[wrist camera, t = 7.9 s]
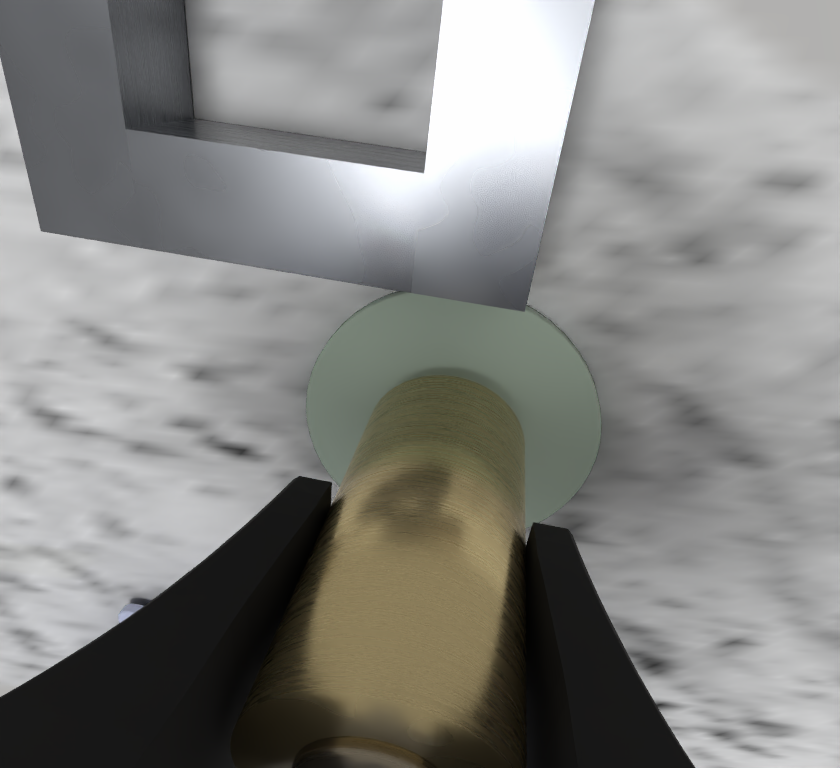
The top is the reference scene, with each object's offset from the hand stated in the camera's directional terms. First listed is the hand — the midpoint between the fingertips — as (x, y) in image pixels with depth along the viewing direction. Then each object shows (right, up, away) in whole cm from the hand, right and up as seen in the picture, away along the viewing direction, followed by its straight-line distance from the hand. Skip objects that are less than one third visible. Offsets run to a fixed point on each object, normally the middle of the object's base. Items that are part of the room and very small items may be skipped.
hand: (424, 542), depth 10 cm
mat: (+1, +2, +3) cm, 4 cm away
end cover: (0, +2, +3) cm, 3 cm away
